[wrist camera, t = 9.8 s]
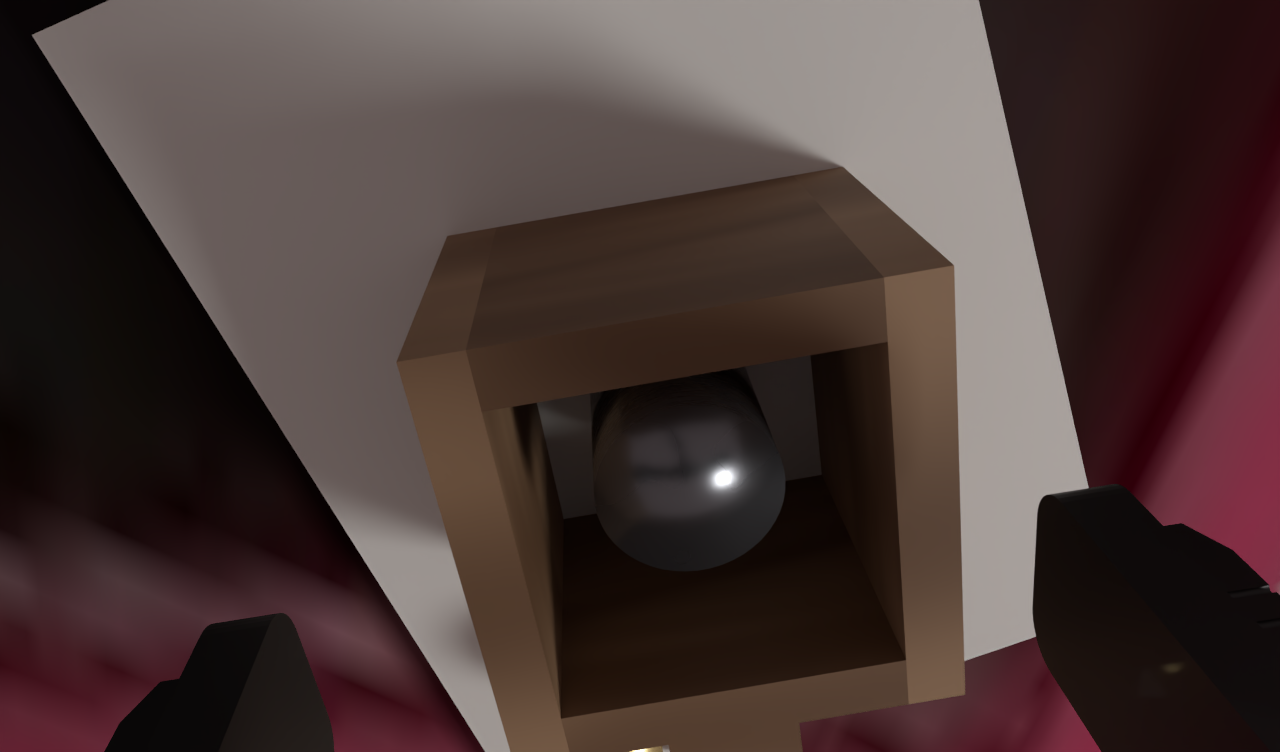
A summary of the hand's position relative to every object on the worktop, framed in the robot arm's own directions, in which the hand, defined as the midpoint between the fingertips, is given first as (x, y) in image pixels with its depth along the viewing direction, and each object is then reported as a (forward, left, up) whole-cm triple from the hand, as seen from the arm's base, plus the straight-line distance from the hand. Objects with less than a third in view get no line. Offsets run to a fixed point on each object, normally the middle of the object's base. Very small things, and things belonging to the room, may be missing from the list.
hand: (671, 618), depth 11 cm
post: (0, 0, -7) cm, 7 cm away
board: (0, 0, -8) cm, 8 cm away
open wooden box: (+3, 0, -7) cm, 8 cm away
